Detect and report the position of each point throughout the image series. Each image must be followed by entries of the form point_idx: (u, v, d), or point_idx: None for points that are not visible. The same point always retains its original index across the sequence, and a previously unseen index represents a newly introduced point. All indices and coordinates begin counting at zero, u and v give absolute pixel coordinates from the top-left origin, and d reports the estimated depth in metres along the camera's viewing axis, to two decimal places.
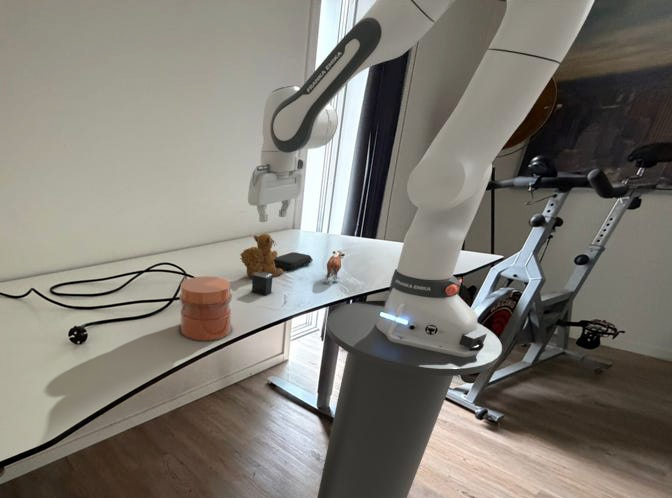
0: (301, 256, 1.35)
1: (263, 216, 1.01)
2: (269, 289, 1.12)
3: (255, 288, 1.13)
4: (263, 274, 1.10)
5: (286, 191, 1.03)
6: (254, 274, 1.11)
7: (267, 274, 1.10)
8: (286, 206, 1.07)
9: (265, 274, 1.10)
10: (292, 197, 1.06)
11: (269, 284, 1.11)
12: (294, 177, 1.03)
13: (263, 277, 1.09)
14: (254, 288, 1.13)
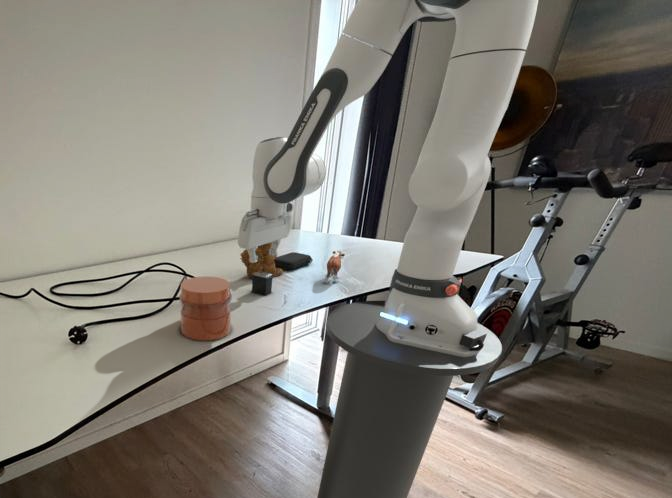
0: (301, 256, 1.35)
1: (253, 257, 1.04)
2: (269, 289, 1.12)
3: (255, 288, 1.13)
4: (263, 274, 1.10)
5: (276, 232, 1.06)
6: (254, 274, 1.11)
7: (267, 274, 1.10)
8: (276, 245, 1.10)
9: (265, 274, 1.10)
10: (282, 237, 1.09)
11: (269, 284, 1.11)
12: (283, 219, 1.06)
13: (263, 277, 1.09)
14: (254, 288, 1.13)
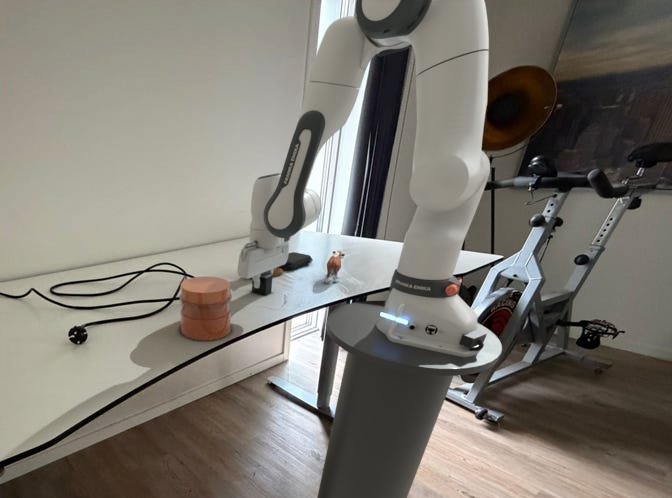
0: (301, 256, 1.35)
1: (257, 283, 1.10)
2: (269, 289, 1.12)
3: (255, 288, 1.13)
4: (263, 274, 1.10)
5: (274, 261, 1.10)
6: None
7: (267, 274, 1.10)
8: None
9: (265, 274, 1.10)
10: (280, 265, 1.13)
11: (269, 284, 1.11)
12: (281, 247, 1.10)
13: (263, 277, 1.09)
14: (254, 288, 1.13)
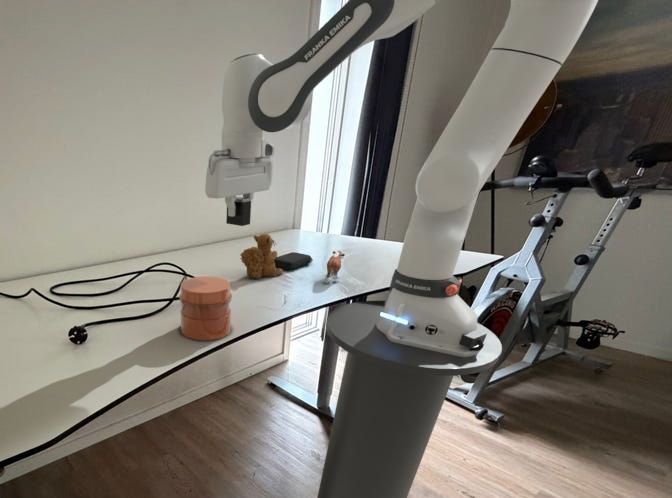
0: (301, 256, 1.35)
1: (232, 209, 0.88)
2: (247, 218, 0.90)
3: (230, 218, 0.91)
4: (239, 198, 0.88)
5: (253, 181, 0.88)
6: None
7: (244, 198, 0.88)
8: None
9: (242, 198, 0.88)
10: (261, 189, 0.91)
11: (247, 212, 0.89)
12: (263, 165, 0.88)
13: (239, 201, 0.87)
14: (229, 218, 0.91)
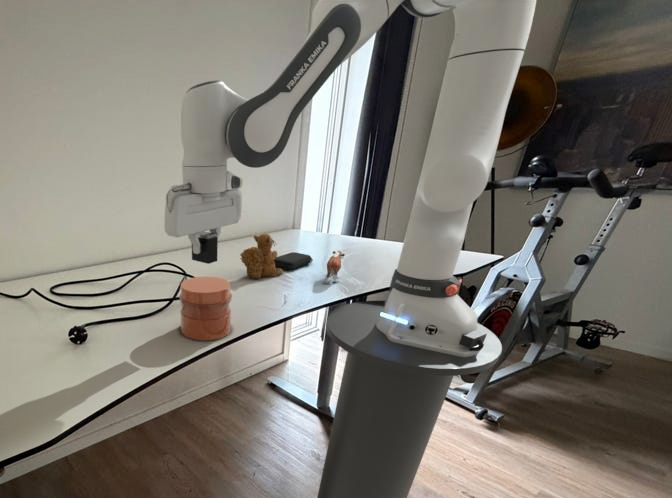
0: (301, 256, 1.35)
1: (197, 246, 0.80)
2: (214, 255, 0.82)
3: (195, 254, 0.83)
4: (204, 234, 0.80)
5: (219, 216, 0.80)
6: None
7: (210, 234, 0.80)
8: None
9: (207, 234, 0.80)
10: (229, 223, 0.83)
11: (213, 248, 0.81)
12: (230, 198, 0.80)
13: (204, 238, 0.79)
14: (194, 255, 0.83)
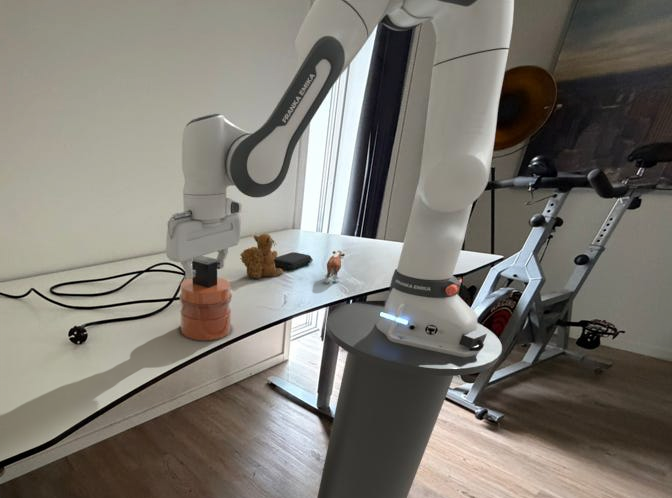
0: (301, 256, 1.35)
1: (189, 272, 0.81)
2: (214, 280, 0.85)
3: (196, 278, 0.86)
4: (204, 259, 0.83)
5: (219, 240, 0.82)
6: (193, 260, 0.84)
7: (210, 259, 0.83)
8: (222, 256, 0.87)
9: (207, 259, 0.83)
10: (229, 246, 0.85)
11: (213, 273, 0.84)
12: (229, 222, 0.83)
13: (204, 263, 0.82)
14: (195, 278, 0.86)
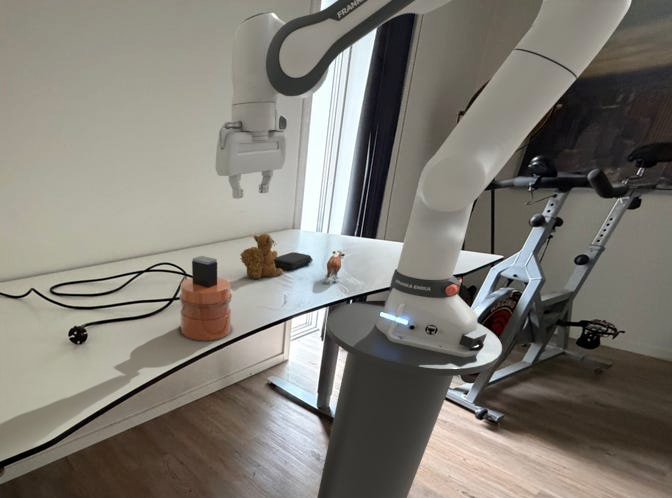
0: (301, 256, 1.35)
1: (237, 191, 0.79)
2: (214, 280, 0.85)
3: (196, 278, 0.86)
4: (204, 259, 0.83)
5: (266, 158, 0.81)
6: (193, 260, 0.84)
7: (210, 259, 0.83)
8: (267, 179, 0.85)
9: (207, 259, 0.83)
10: (274, 167, 0.84)
11: (213, 273, 0.84)
12: (276, 141, 0.81)
13: (204, 263, 0.82)
14: (195, 278, 0.86)
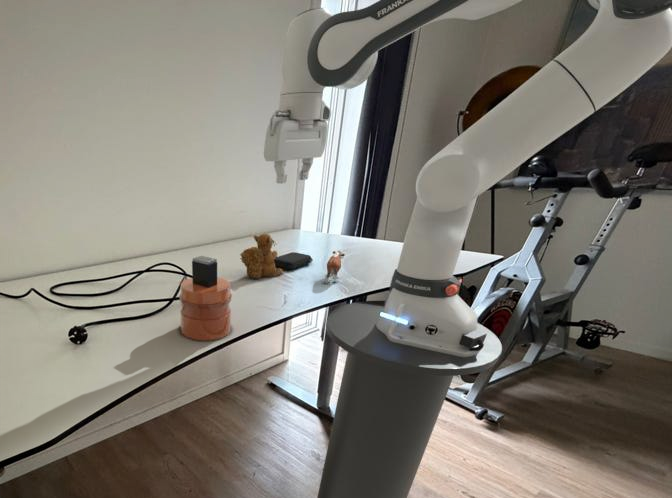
0: (301, 256, 1.35)
1: (281, 176, 0.84)
2: (214, 280, 0.85)
3: (196, 278, 0.86)
4: (204, 259, 0.83)
5: (309, 146, 0.86)
6: (193, 260, 0.84)
7: (210, 259, 0.83)
8: (307, 167, 0.90)
9: (207, 259, 0.83)
10: (315, 155, 0.89)
11: (213, 273, 0.84)
12: (318, 130, 0.86)
13: (204, 263, 0.82)
14: (195, 278, 0.86)
